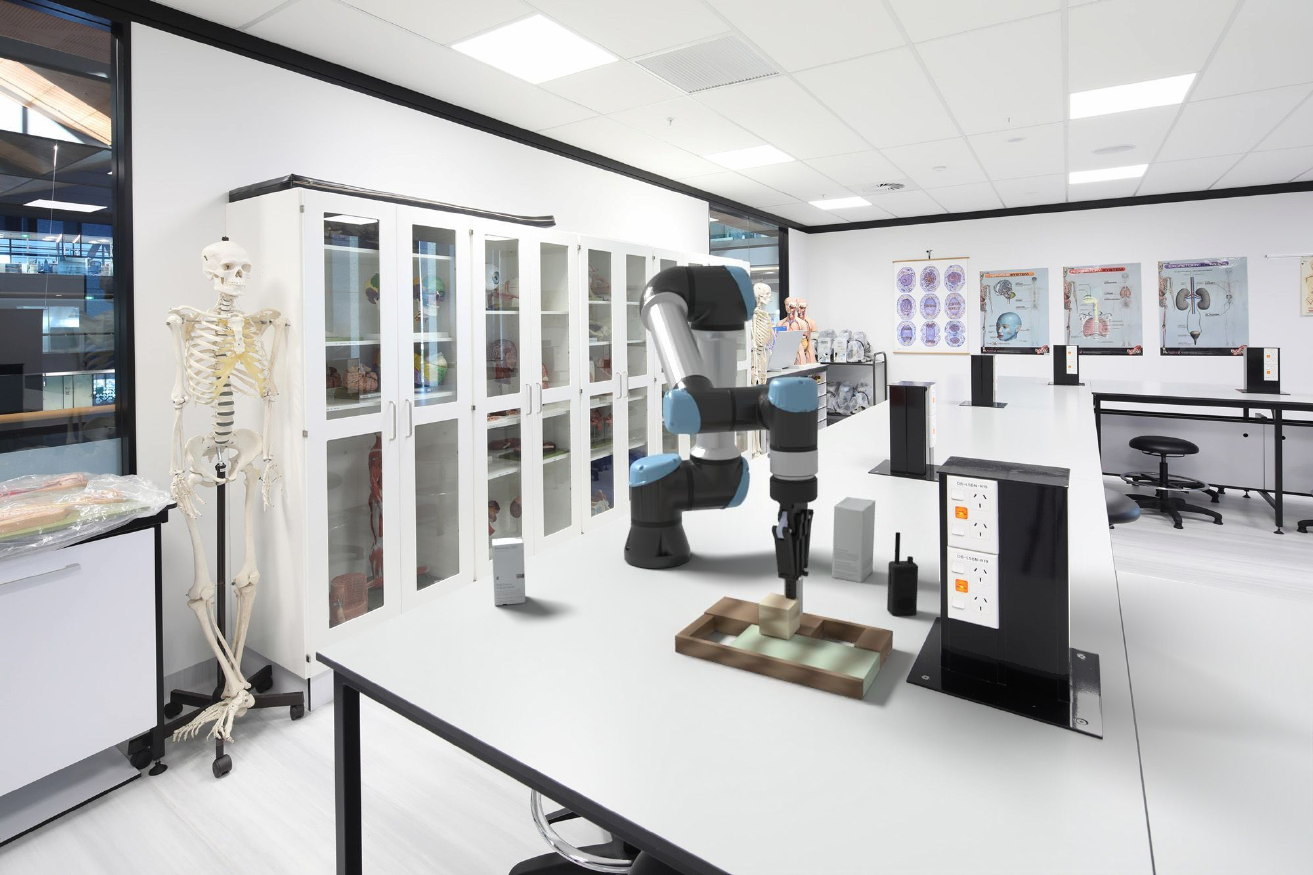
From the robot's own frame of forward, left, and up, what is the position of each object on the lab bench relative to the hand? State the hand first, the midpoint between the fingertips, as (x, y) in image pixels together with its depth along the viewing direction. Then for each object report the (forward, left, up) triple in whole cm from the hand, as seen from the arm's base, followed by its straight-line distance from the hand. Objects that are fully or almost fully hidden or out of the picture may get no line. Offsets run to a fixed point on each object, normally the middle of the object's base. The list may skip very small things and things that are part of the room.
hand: (793, 614), depth 114 cm
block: (-1, -3, -2) cm, 4 cm away
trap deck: (0, -4, -5) cm, 6 cm away
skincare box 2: (0, +35, -5) cm, 36 cm away
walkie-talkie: (+13, +20, -5) cm, 24 cm away
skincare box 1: (-54, -10, -5) cm, 55 cm away
